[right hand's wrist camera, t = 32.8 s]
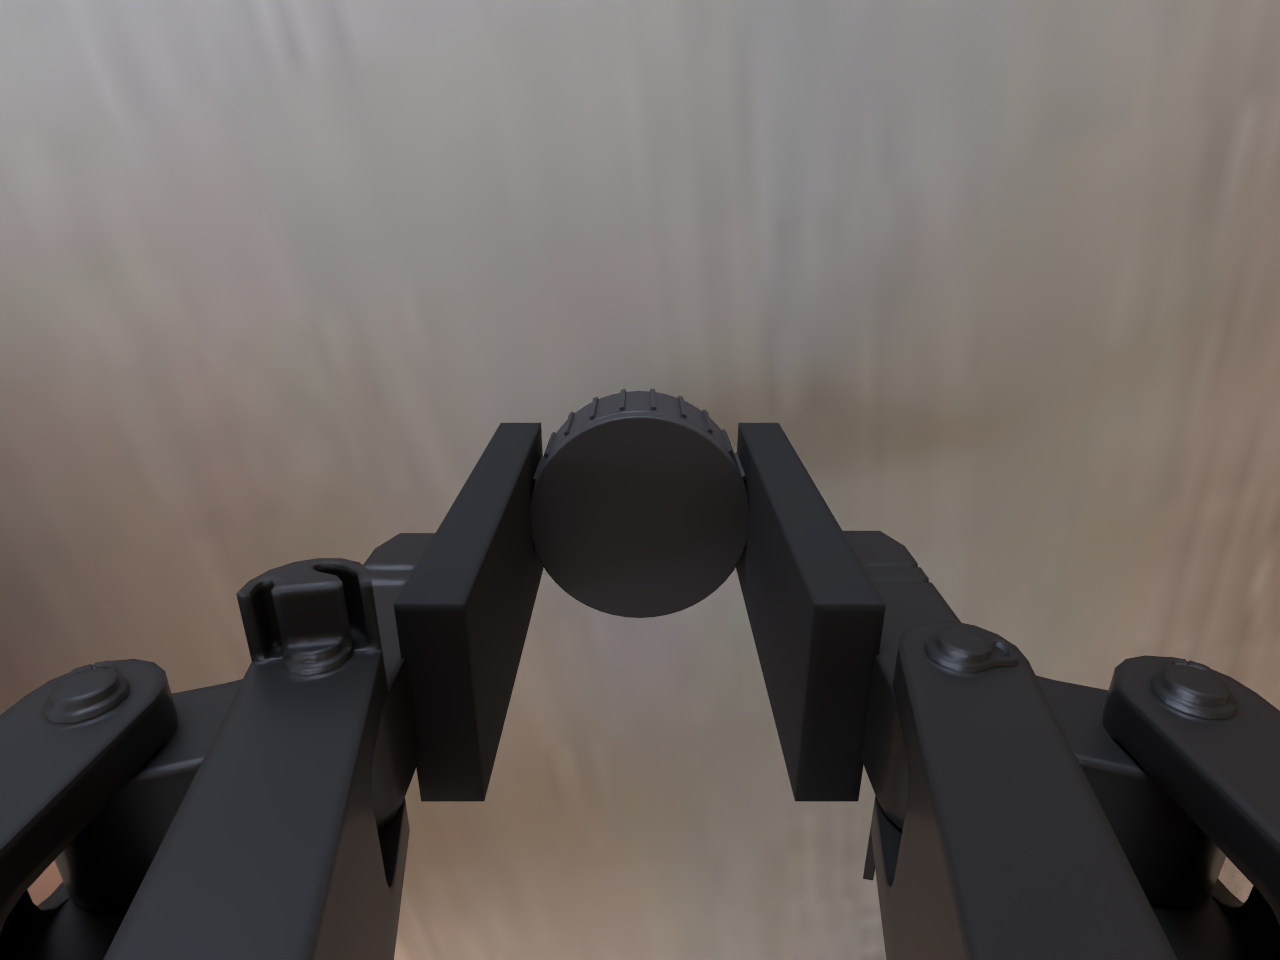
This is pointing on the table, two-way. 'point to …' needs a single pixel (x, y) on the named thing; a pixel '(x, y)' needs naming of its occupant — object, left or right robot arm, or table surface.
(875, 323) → the table surface
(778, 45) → the table surface
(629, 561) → the cap
